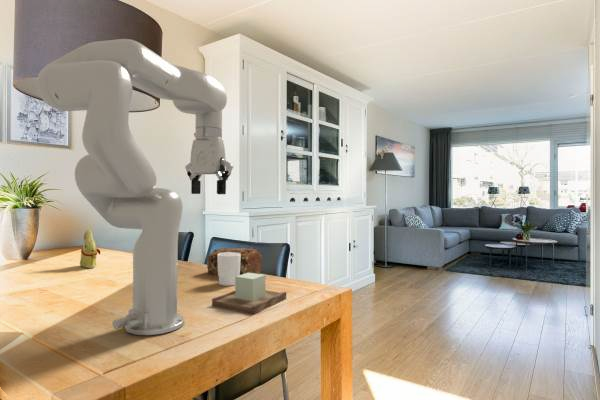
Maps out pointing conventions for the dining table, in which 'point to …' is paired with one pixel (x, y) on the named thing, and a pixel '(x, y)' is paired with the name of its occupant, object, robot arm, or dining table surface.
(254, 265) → the bread
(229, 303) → the board
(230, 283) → the white cup
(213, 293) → the dining table surface
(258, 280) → the sage block
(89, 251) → the asparagus bundle
